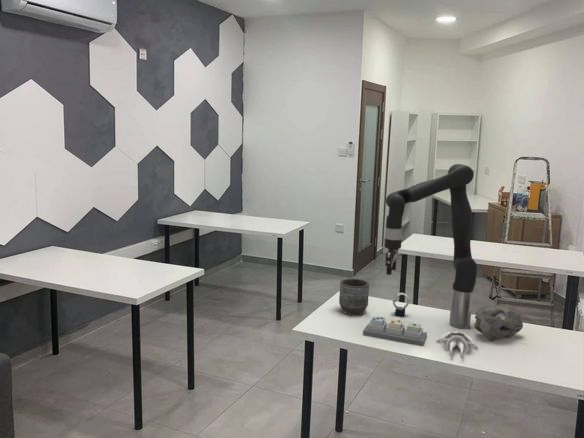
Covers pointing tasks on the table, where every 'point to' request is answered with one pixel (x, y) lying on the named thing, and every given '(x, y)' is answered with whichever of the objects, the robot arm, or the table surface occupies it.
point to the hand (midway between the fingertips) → (391, 272)
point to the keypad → (395, 334)
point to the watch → (400, 310)
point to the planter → (353, 295)
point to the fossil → (497, 322)
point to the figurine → (457, 342)
